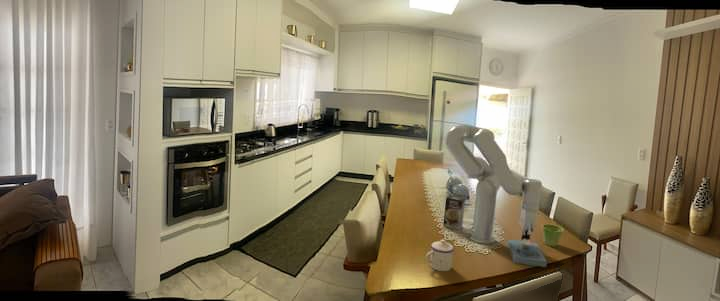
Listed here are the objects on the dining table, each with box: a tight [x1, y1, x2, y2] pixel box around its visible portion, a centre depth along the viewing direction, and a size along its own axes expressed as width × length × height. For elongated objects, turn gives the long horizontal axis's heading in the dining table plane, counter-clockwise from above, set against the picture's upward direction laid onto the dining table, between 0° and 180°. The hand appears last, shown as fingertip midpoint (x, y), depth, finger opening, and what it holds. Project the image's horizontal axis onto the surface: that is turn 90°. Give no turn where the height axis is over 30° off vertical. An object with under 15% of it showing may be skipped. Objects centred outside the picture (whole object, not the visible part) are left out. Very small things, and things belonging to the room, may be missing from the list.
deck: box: [507, 238, 548, 268], centre depth 173 cm, size 20×13×2 cm, turn 167°
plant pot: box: [541, 223, 565, 247], centre depth 186 cm, size 9×9×9 cm
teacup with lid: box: [425, 239, 454, 272], centre depth 156 cm, size 12×9×12 cm
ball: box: [520, 239, 532, 248], centre depth 174 cm, size 4×4×4 cm
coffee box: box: [442, 194, 466, 231], centre depth 202 cm, size 9×6×16 cm
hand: (525, 243), depth 179 cm, fingers closed
